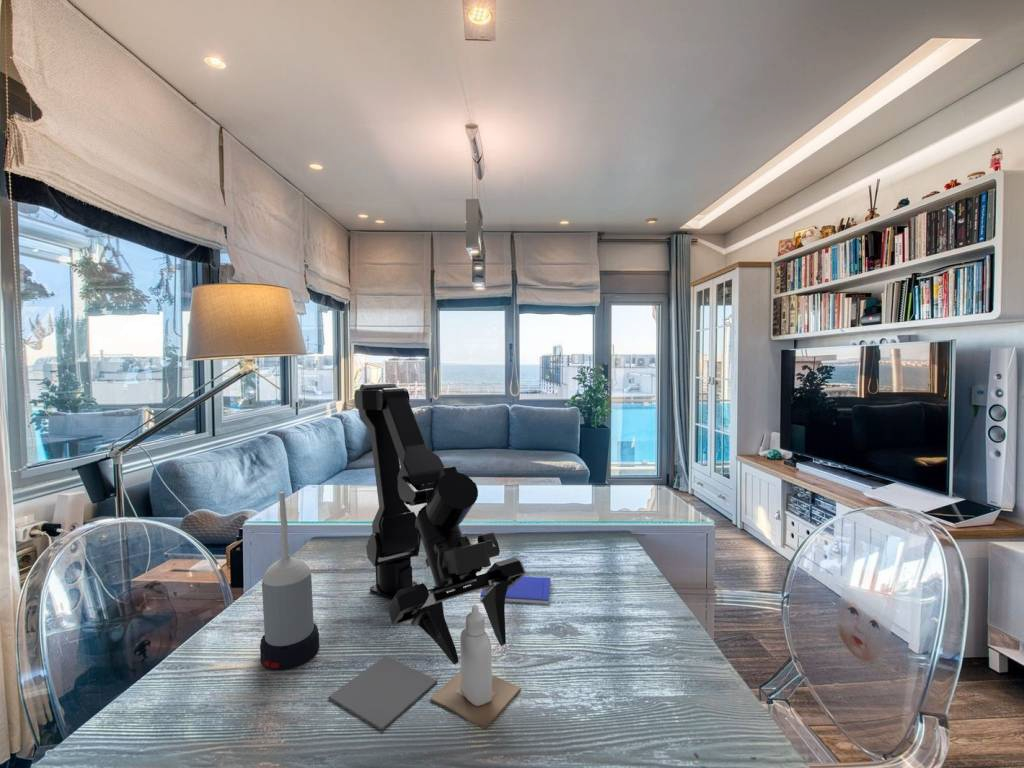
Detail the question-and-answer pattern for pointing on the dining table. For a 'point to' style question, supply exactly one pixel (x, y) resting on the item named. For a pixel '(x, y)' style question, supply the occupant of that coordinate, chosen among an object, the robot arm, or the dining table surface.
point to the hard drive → (528, 590)
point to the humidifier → (287, 609)
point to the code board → (479, 715)
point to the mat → (383, 691)
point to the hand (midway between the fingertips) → (480, 653)
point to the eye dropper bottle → (476, 660)
